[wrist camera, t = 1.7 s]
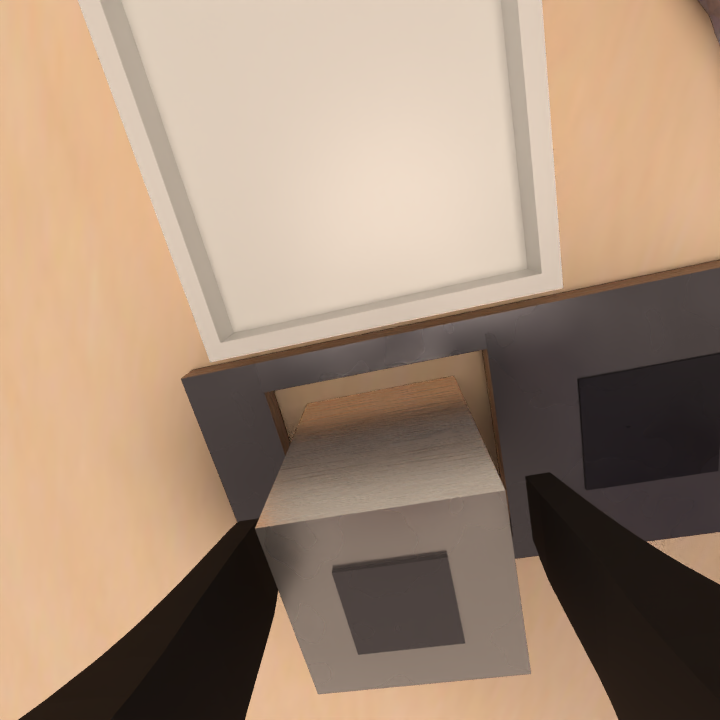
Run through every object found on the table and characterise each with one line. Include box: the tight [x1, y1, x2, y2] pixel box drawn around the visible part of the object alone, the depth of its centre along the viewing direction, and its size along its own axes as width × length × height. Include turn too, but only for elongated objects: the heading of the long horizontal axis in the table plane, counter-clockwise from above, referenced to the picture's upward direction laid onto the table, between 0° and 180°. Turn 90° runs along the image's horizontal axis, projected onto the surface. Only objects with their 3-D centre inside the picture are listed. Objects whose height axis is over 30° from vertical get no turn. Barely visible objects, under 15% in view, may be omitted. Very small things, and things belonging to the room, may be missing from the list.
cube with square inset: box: [255, 376, 531, 694], centre depth 11 cm, size 5×5×6 cm
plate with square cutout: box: [181, 260, 720, 559], centre depth 13 cm, size 9×18×1 cm, turn 103°
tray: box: [78, 0, 563, 362], centre depth 10 cm, size 10×10×2 cm
